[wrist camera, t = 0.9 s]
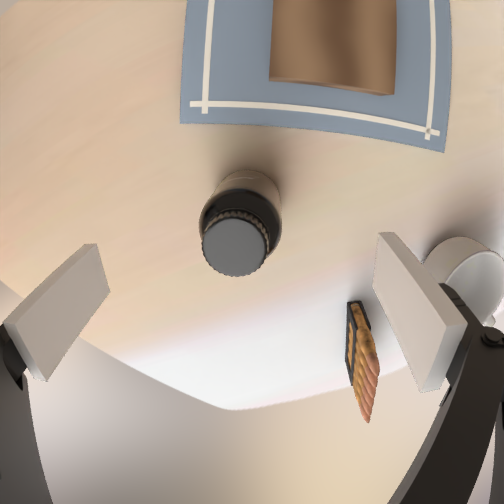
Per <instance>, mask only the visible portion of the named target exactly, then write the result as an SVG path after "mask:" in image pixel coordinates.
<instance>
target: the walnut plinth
mask: <svg viewBox="0 0 504 504" xmlns="http://www.w3.org/2000/svg"><path fill="white" fill-rule="evenodd" d="M396 50H397V9H396V0H273V14H272V32H271V49H270V67H269V81H274V82H286V83H297V84H307V85H315V86H323V87H330V88H337V89H344V90H350V91H356V92H361V93H367V94H372V95H377V96H385V95H394V92H395V76H396Z"/></svg>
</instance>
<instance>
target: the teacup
mask: <svg viewBox="0 0 504 504" xmlns="http://www.w3.org/2000/svg"><path fill="white" fill-rule="evenodd" d="M423 266H424V267H425V268H426V270H427V271H428V272H429V273H430V275H431V276H432V277H433V278H434V279H435V281H436V282H437V283H445V284H447V285H448V286H450V287H451V288H453V289H454V290H455V291H456V292H457V293H458V295H459V296H460V297H461V299H462V300H463V301H464V302H465V303H466V306H468V307H469V308H470V310H471V311H472V312H473V314H474V315H475V316H476V317H477V319H478V320H479V321H480V323H481V324H484V326H489V327H492V326H493V325H494V324H495V319H494V317H493V315H492V314H493V313H494V312H495V310H496V309H497V307H498V306H499V304H500V302H501V300H502V298H503V296H504V260H503V258H502V257H501V256H500V255H499V254H498V253H496V252H494V251H491V250H490V249H488V248H487V247H485V246H484V245H482V244H481V243H479V242H477V241H475V240H473V239H471V238H467V237H453V238H450V239H447V240H445V241H443V242H442V243H440V244H439V245H438V246H436V247H435V248H434V249H433V250H432V252H431V253H430V254H429V255H428V257H427V259H426V260H425V262H424V264H423Z"/></svg>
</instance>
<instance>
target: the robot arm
mask: <svg viewBox="0 0 504 504" xmlns="http://www.w3.org/2000/svg"><path fill="white" fill-rule="evenodd" d="M372 288H373V290H374V292H375V294H376V296H377V298H378V300H379V302H380V304H381V306H382V308H383V310H384V312H385V314H386V316H387V318H388V320H389V323H390V325H391V327H392V329H393V331H394V333H395V336H396V338H397V340H398V342H399V344H400V347H401V349H402V351H403V353H404V356H405V358H406V360H407V363H408V365H409V367H410V370H411V372H412V374H413V377H414V379H415V382H416V384H417V387H418V389H419V391H420V393H423V392H428V391H433V390H438V389H440V387H441V385H442V383H443V381H444V379H445V377H446V378H447V380H448V382H449V384H450V386H449V388H448V390H447V392H446V394H445V396H444V398H443V400H442V401H441V403H440V405H439V406H440V409H439V411H438V413H437V416H436V418H435V420H434V422H433V424H432V426H431V428H430V431H429V433H428V435H427V437H426V439H425V441H424V443H423V444H422V446H421V449H420V450H419V452H418V454H417V456H416V458H415V459H414V461H413V463H412V465H411V467H410V468H409V470H408V472H407V473H406V475H405V477H404V479H403V480H402V482H401V483H400V485H399V486H398V488H397V490H396V491H395V493H394V494H393V496H392V497H391V499H390V500H389V502H388V503H387V504H467V502H468V499H469V497H470V495H471V493H472V490H473V488H474V485H475V483H476V480H477V478H478V475H479V472H480V470H481V467H482V464H483V461H484V458H485V455H486V452H487V449H488V446H489V442H490V439H491V435H492V432H493V428H494V425H495V454H494V468H493V477H492V485H491V493H490V500H489V504H504V334H503V333H502V332H501V331H500V330H498V329H496V328H494V327H489V326H483V325H482V324H481V323H480V321H479V320H478V319H477V317H476V316H475V315H474V314H473V312H472V311H471V310H470V308H469V307H468V306H466V303H465V302H464V301H463V300H462V299H461V297H460V296H459V295H458V293H457V292H456V291H455V290H454V289H453V288H451V287H450V286H448V285H447V284H445V283H437V282H436V281H435V279H434V278H433V277H432V276H431V275H430V273H429V272H428V271H427V270H426V268H425V267H424V266H423V265H422V264H421V262H420V261H419V260H418V259H417V258H416V257H415V255H414V254H413V253H412V252H411V251H410V250H409V248H408V247H407V246H406V245H405V244H404V243H403V242H402V240H401V239H400V238H399V237H398V236H397V235H396V234H395V233H394V232H381V233H378V243H377V252H376V261H375V269H374V276H373V284H372ZM109 293H110V289H109V286H108V283H107V279H106V276H105V272H104V269H103V265H102V262H101V258H100V254H99V251H98V247H97V244H84V245H83V246H82V247H81V248H80V249H79V250H77V251H76V252H75V253H74V254H73V255H72V256H70V257H69V258H68V259H67V260H66V261H65V262H64V263H63V264H61V265H60V266H59V267H58V268H57V269H56V270H55V271H54V272H53V273H52V274H51V275H49V276H48V277H47V278H46V279H45V280H44V281H43V282H42V283H41V284H40V285H39V286H38V287H37V288H36V289H35V290H34V291H33V292H32V293H31V294H30V295H29V296H27V297H26V298H25V299H24V300H23V301H22V302H21V303H20V304H19V306H18V307H17V308H16V309H15V310H14V311H13V312H12V313H11V314H10V315H9V316H8V317H7V318H6V319H5V320H4V321H3V324H2V325H1V326H0V504H53V502H52V499H51V496H50V493H49V490H48V487H47V483H46V480H45V476H44V472H43V469H42V465H41V460H40V456H39V452H38V448H37V442H36V437H35V432H34V427H33V421H32V415H31V408H30V401H29V392H28V383H27V378H26V376H25V375H24V373H23V372H24V371H25V369H26V368H28V370H29V371H30V373H31V375H32V376H33V378H35V379H38V380H41V381H45V382H47V380H48V379H49V377H50V376H51V375H52V373H53V372H54V370H55V369H56V367H57V366H58V364H59V363H60V361H61V360H62V358H63V356H64V355H65V354H66V352H67V351H68V349H69V348H70V346H71V345H72V344H73V342H74V341H75V339H76V338H77V336H78V335H79V334H80V332H81V331H82V329H83V328H84V327H85V325H86V324H87V323H88V321H89V320H90V318H91V317H92V316H93V314H94V313H95V312H96V310H97V309H98V308H99V306H100V305H101V304H102V302H103V301H104V300H105V298H106V297H107V296H108V294H109Z"/></svg>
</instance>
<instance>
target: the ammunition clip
mask: <svg viewBox="0 0 504 504" xmlns="http://www.w3.org/2000/svg"><path fill="white" fill-rule="evenodd" d="M370 331H371V326H370V323H369V320H368V318H367V315H366V312H365V310H364V307H363V305H362V302H361V301H355V302H348V303H347V327H346V353H345V362H346V366H347V370H348V374H349V378H350V382H351V386H353V388H354V392H355V396H356V399H357V401H358V403H359V407H360V410H361V413H362V416H363V418H364V419H365V421H366V422H367V423H369V421H370V415H371V413H372V406H373V403H374V397H375V393H376V387H377V382H378V381H377V380H378V376H379V372H380V367H379V361H378V357H377V353H376V350H375V343H374V340H373V338H372V335H371V332H370Z"/></svg>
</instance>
